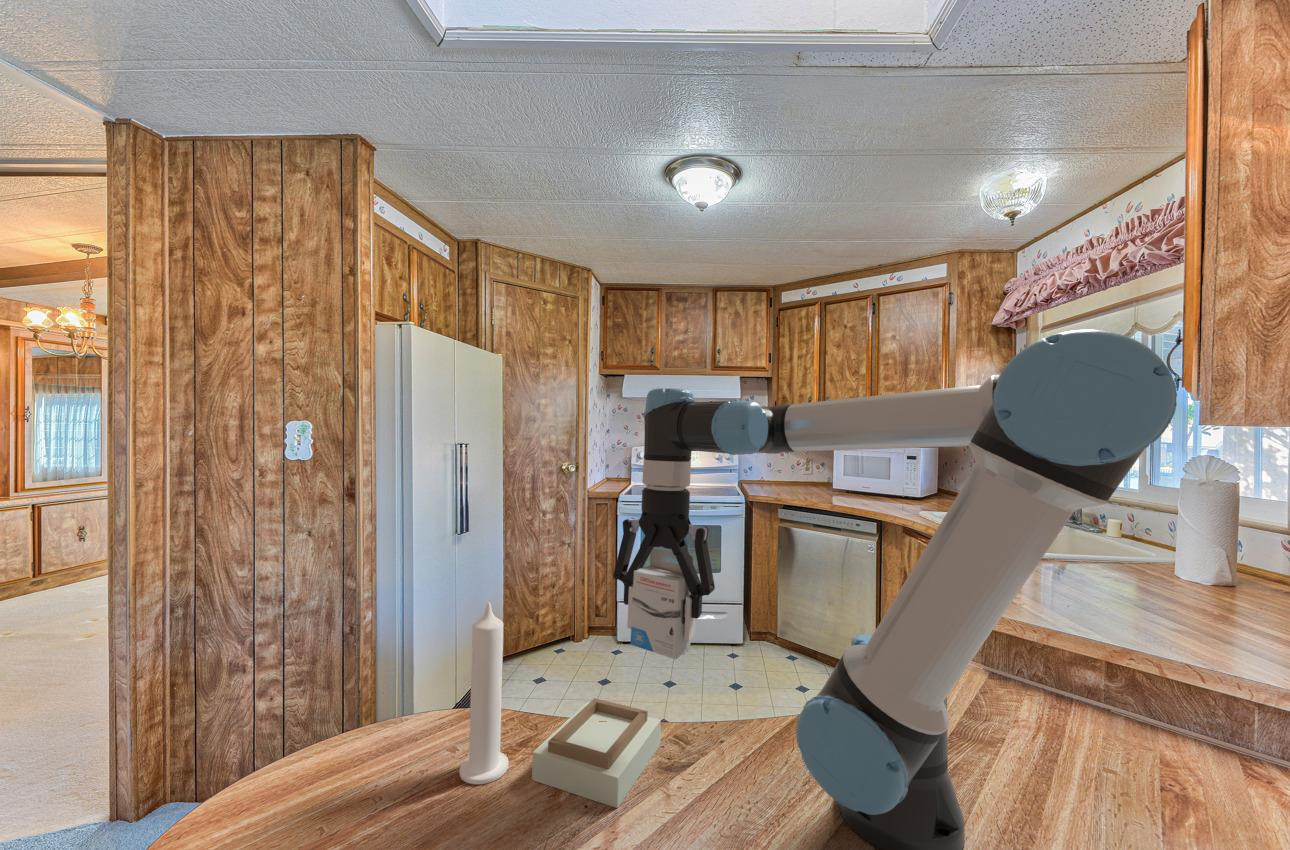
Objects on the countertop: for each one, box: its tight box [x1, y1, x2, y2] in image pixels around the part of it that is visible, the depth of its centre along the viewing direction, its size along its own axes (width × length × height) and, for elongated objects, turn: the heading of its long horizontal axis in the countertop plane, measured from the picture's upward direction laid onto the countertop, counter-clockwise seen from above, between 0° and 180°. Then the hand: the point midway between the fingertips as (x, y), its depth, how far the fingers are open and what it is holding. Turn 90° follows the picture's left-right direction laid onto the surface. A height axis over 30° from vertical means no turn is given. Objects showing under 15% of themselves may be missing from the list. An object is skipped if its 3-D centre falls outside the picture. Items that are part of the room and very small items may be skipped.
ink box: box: [630, 547, 694, 660], centre depth 79 cm, size 9×5×15 cm, turn 56°
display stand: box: [531, 698, 662, 809], centre depth 79 cm, size 14×16×6 cm
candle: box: [458, 601, 510, 785], centre depth 77 cm, size 7×7×25 cm
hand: (660, 631), depth 79 cm, fingers closed on ink box, 9 cm apart
